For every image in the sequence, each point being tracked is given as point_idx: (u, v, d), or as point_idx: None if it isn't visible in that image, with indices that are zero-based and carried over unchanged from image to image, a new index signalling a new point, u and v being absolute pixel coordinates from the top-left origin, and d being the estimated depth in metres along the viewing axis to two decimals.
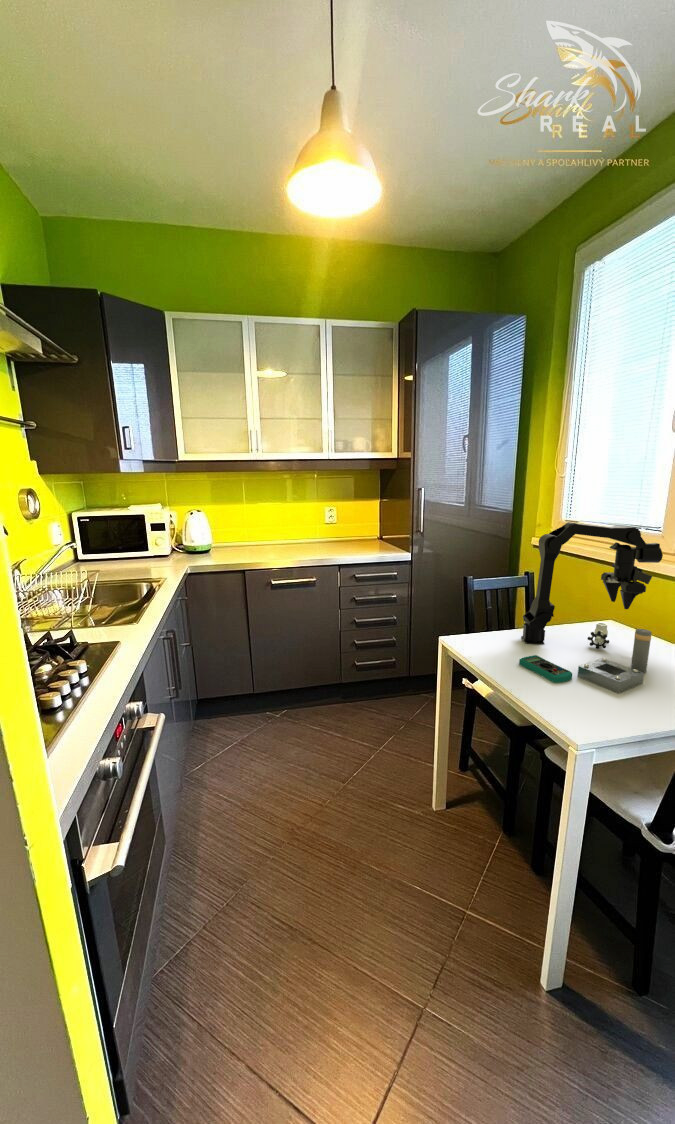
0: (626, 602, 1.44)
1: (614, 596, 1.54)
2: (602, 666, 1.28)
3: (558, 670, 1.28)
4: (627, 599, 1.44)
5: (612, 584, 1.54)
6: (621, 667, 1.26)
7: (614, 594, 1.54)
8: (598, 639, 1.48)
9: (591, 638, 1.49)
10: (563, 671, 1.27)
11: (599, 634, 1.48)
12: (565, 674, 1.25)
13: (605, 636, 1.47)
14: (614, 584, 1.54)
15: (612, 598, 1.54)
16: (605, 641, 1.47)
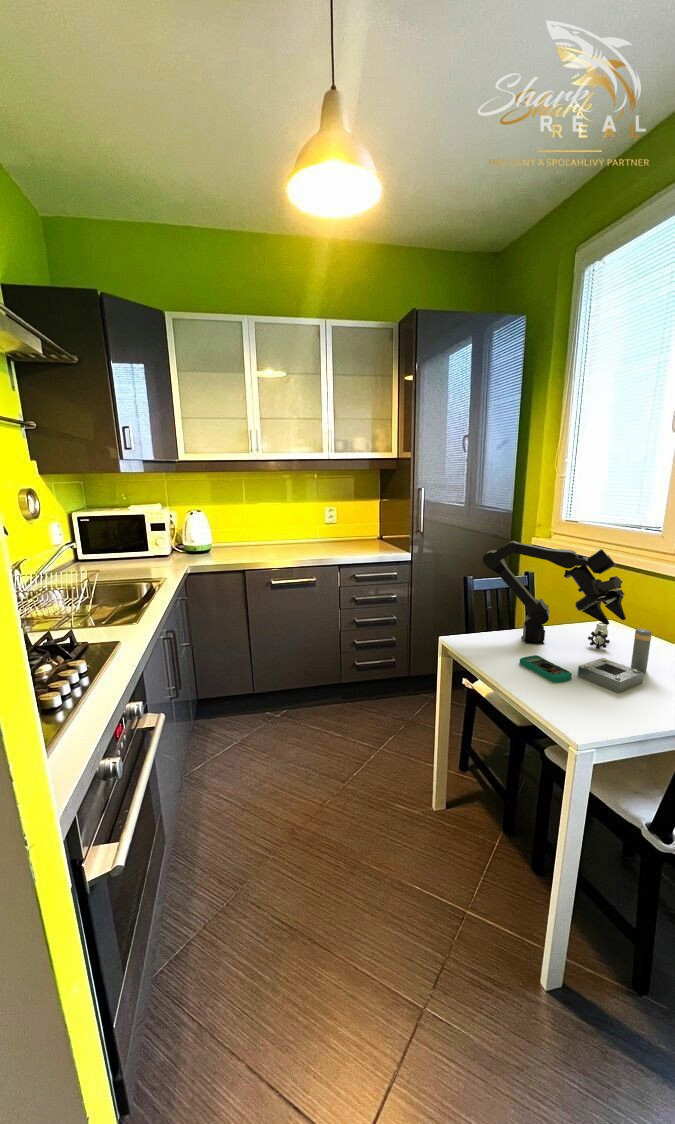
0: (600, 618, 1.35)
1: (620, 614, 1.39)
2: (602, 666, 1.28)
3: (557, 670, 1.28)
4: (596, 615, 1.36)
5: (611, 604, 1.42)
6: (621, 667, 1.26)
7: (619, 612, 1.40)
8: (598, 639, 1.48)
9: (591, 638, 1.50)
10: (562, 671, 1.27)
11: (599, 634, 1.48)
12: (564, 674, 1.25)
13: (605, 636, 1.47)
14: (612, 602, 1.42)
15: (620, 617, 1.39)
16: (605, 641, 1.47)
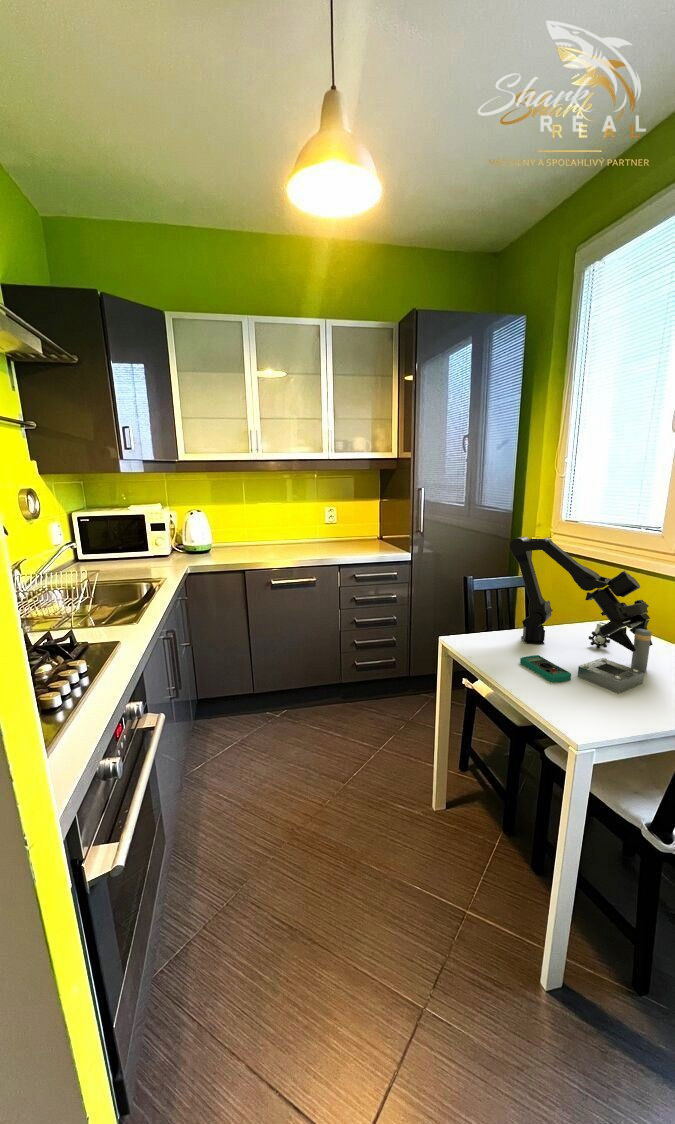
0: (626, 644, 1.29)
1: None
2: (602, 666, 1.28)
3: (557, 670, 1.28)
4: (622, 641, 1.30)
5: (636, 628, 1.36)
6: (621, 667, 1.26)
7: None
8: (599, 638, 1.49)
9: (592, 637, 1.50)
10: (562, 671, 1.27)
11: None
12: (563, 675, 1.25)
13: None
14: (637, 626, 1.36)
15: None
16: (606, 640, 1.47)
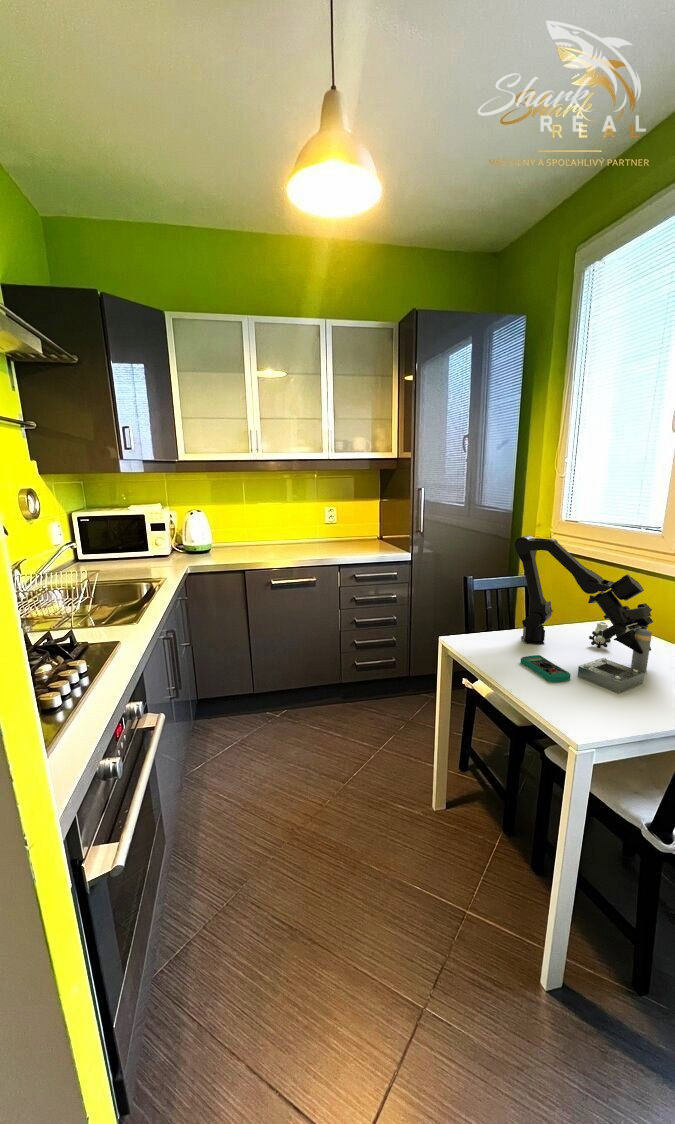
0: (633, 647, 1.30)
1: None
2: (602, 666, 1.28)
3: (556, 670, 1.28)
4: (629, 644, 1.30)
5: None
6: (621, 667, 1.26)
7: None
8: (599, 638, 1.49)
9: (592, 637, 1.50)
10: (561, 671, 1.27)
11: (600, 633, 1.48)
12: (562, 675, 1.25)
13: None
14: None
15: None
16: (606, 640, 1.48)
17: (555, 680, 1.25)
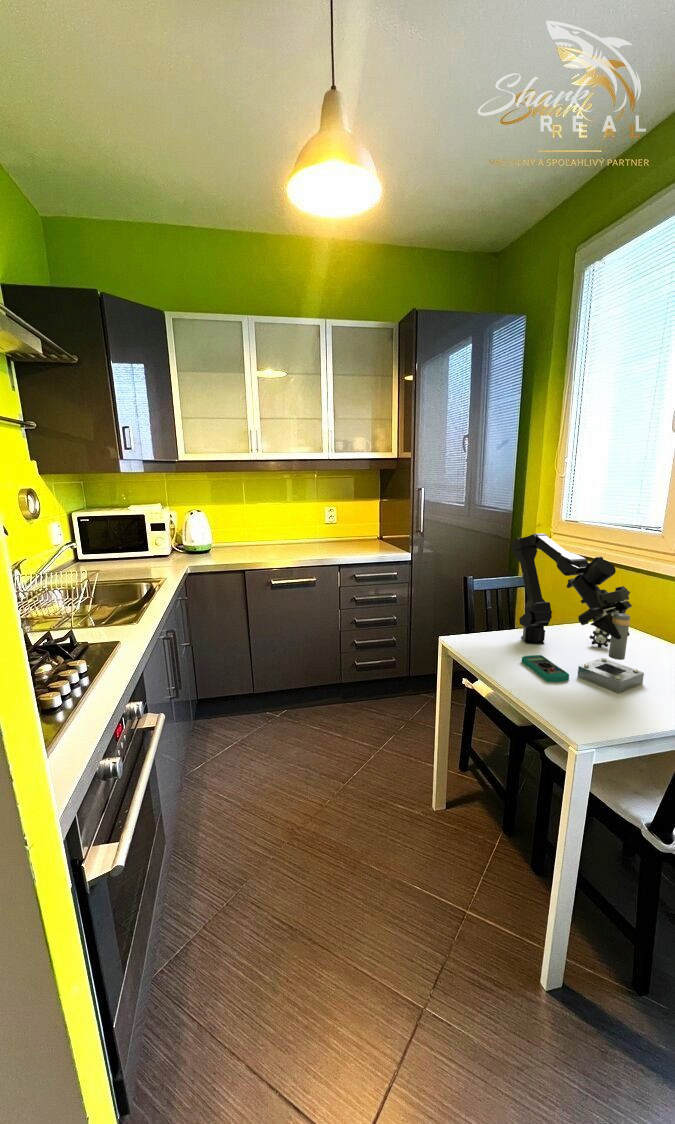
0: (611, 632, 1.23)
1: None
2: (602, 666, 1.28)
3: (555, 670, 1.28)
4: (606, 628, 1.23)
5: None
6: (621, 667, 1.26)
7: None
8: (600, 638, 1.49)
9: (593, 637, 1.51)
10: (560, 672, 1.27)
11: (601, 633, 1.49)
12: (560, 675, 1.25)
13: (607, 635, 1.48)
14: None
15: None
16: (607, 640, 1.48)
17: (552, 680, 1.25)
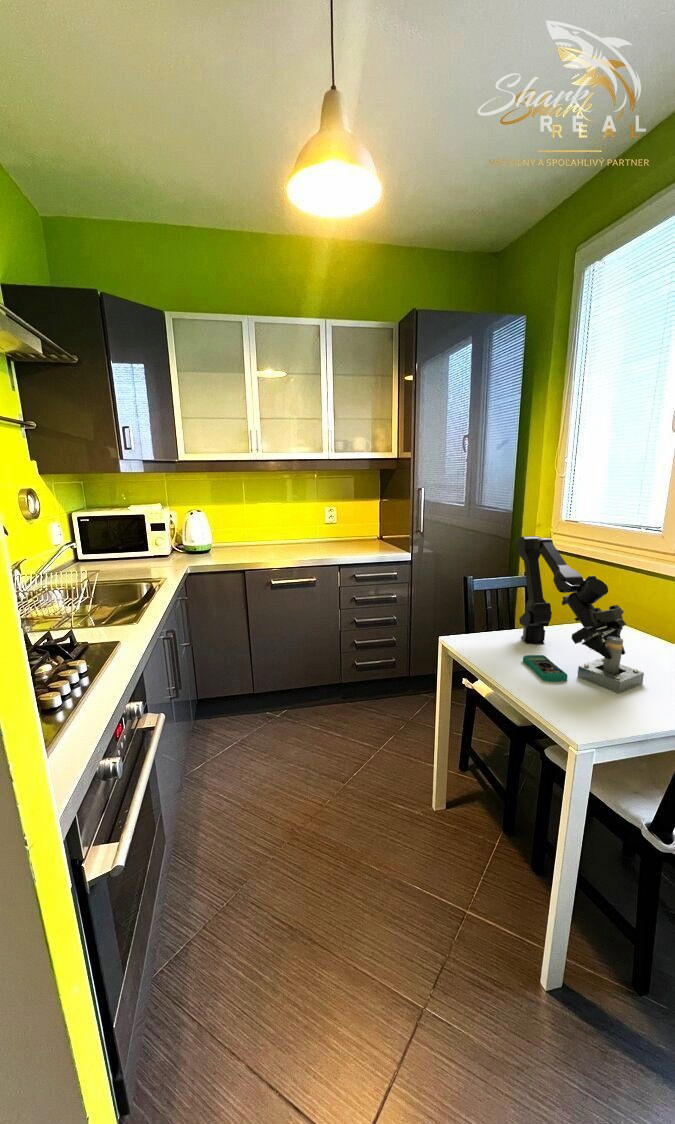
0: (601, 651, 1.23)
1: None
2: (602, 666, 1.28)
3: (553, 670, 1.28)
4: (597, 648, 1.23)
5: (609, 635, 1.28)
6: (621, 667, 1.26)
7: None
8: None
9: None
10: (558, 672, 1.27)
11: None
12: (557, 675, 1.25)
13: None
14: (610, 634, 1.28)
15: None
16: None
17: (549, 679, 1.25)
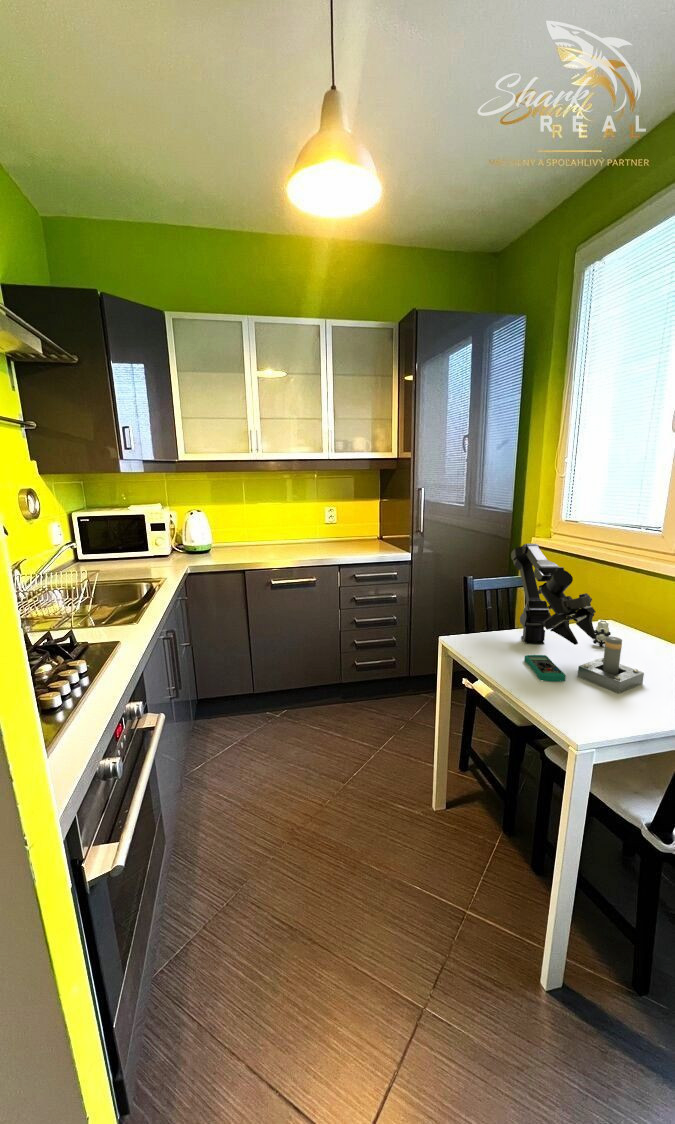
0: (568, 637, 1.30)
1: (591, 633, 1.34)
2: (602, 666, 1.28)
3: (552, 670, 1.28)
4: (565, 634, 1.31)
5: (582, 621, 1.37)
6: (621, 667, 1.26)
7: (589, 630, 1.34)
8: (602, 637, 1.50)
9: None
10: (556, 672, 1.27)
11: (603, 632, 1.50)
12: (555, 674, 1.25)
13: (609, 634, 1.49)
14: (583, 620, 1.36)
15: (590, 635, 1.34)
16: None
17: (546, 679, 1.25)
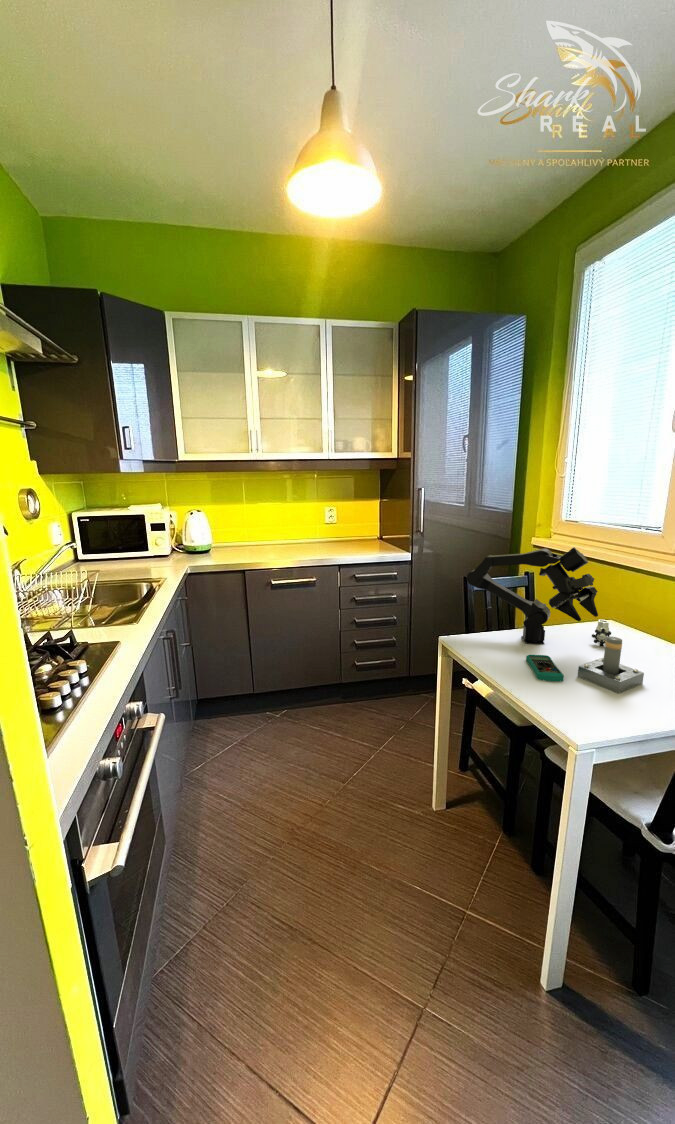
0: (572, 615, 1.39)
1: (593, 611, 1.42)
2: (602, 666, 1.28)
3: (551, 670, 1.28)
4: (569, 612, 1.39)
5: (585, 601, 1.45)
6: (621, 667, 1.26)
7: (592, 609, 1.43)
8: (602, 636, 1.51)
9: (595, 635, 1.52)
10: (555, 672, 1.27)
11: (603, 631, 1.50)
12: (553, 674, 1.25)
13: (609, 633, 1.49)
14: (585, 599, 1.45)
15: (593, 613, 1.43)
16: None
17: (544, 678, 1.26)
